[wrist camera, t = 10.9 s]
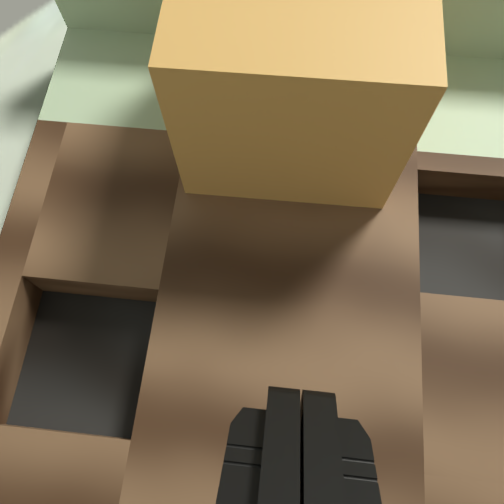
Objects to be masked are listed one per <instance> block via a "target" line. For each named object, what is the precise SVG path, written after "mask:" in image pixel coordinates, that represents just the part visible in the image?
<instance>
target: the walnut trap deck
mask: <svg viewBox="0 0 504 504" xmlns="http://www.w3.org/2000/svg"><path fill="white" fill-rule="evenodd" d="M269 386H274V387H283V388H292V389H300V402H301V395H302V390H312V391H321V392H330V393H335V395H336V403H337V414H338V418H347V419H356V420H358V421H359V422H360V424H361V425H362V427H363V428H364V430H365V431H366V433H367V434H368V436H369V437H370V439H371V443H372V449H373V455H374V465H375V467H376V472H377V478H378V479H377V483H378V484H379V490H380V495H381V501H382V504H504V158H494V157H482V156H470V155H458V154H446V153H434V152H422V151H417V145H416V147H415V149H414V151H413V153H412V155H411V157H410V158H409V160H408V162H407V164H406V166H405V168H404V170H403V171H402V173H401V175H400V177H399V179H398V181H397V183H396V185H395V186H394V188H393V190H392V192H391V194H390V196H389V198H388V199H387V201H386V203H385V205H384V207H383V209H379V208H367V207H354V206H341V205H329V204H316V203H304V202H291V201H279V200H266V199H254V198H241V197H229V196H216V195H204V194H191V193H185V191H184V187H183V184H182V181H181V177H180V174H179V170H178V167H177V164H176V160H175V157H174V154H173V150H172V147H171V143H170V140H169V137H168V133H167V130H155V129H144V128H131V127H119V126H107V125H95V124H83V123H71V122H59V121H47V120H37V123H36V126H35V130H34V133H33V136H32V139H31V142H30V145H29V148H28V151H27V154H26V157H25V160H24V163H23V166H22V170H21V173H20V176H19V179H18V182H17V185H16V188H15V191H14V194H13V197H12V200H11V203H10V206H9V210H8V213H7V216H6V219H5V222H4V225H3V228H2V231H1V234H0V504H216V498H217V493H218V487H219V482H220V477H221V471H222V466H223V461H224V455H225V450H226V445H227V439H228V433H229V428H230V423H231V422H232V420H233V419H234V418H235V417H236V415H237V414H238V413H239V411H240V410H241V409H242V408H243V407H247V408H256V409H265V410H266V408H267V397H268V387H269Z"/></svg>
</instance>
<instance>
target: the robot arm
mask: <svg viewBox="0 0 504 504" xmlns="http://www.w3.org/2000/svg"><path fill="white" fill-rule="evenodd" d="M377 479H378V478H377V472H376V467H375V465H374V455H373V449H372V443H371V439H370V437H369V436H368V434H367V433H366V431H365V430H364V428H363V427H362V425H361V424H360V422H359V421H358V420H356V419H347V418H338V414H337V403H336V395H335V393H330V392H321V391H312V390H302V395H301V402H300V389H292V388H283V387H274V386H269V387H268V397H267V408H266V410H265V409H256V408H247V407H243V408H242V409H241V410H240V411H239V413H238V414H237V415H236V417H235V418H234V419H233V420H232V422H231V423H230V428H229V433H228V439H227V445H226V450H225V455H224V461H223V466H222V471H221V477H220V482H219V487H218V493H217V498H216V504H382V501H381V495H380V490H379V484H378V483H377Z"/></svg>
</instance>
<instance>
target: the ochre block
mask: <svg viewBox="0 0 504 504" xmlns="http://www.w3.org/2000/svg"><path fill="white" fill-rule="evenodd" d="M148 69H149V73H150V76H151V79H152V83H153V86H154V89H155V93H156V96H157V100H158V103H159V106H160V110H161V113H162V116H163V120H164V123H165V127H166V130H167V133H168V137H169V140H170V143H171V147H172V150H173V154H174V157H175V160H176V164H177V167H178V170H179V174H180V177H181V181H182V184H183V187H184V191H185V193H191V194H204V195H216V196H229V197H241V198H254V199H266V200H279V201H291V202H304V203H316V204H329V205H341V206H354V207H367V208H379V209H383V207H384V205H385V203H386V201H387V199H388V198H389V196H390V194H391V192H392V190H393V188H394V186H395V185H396V183H397V181H398V179H399V177H400V175H401V173H402V171H403V170H404V168H405V166H406V164H407V162H408V160H409V158H410V157H411V155H412V153H413V151H414V149H415V147H416V145H417V143H418V142H419V140H420V138H421V136H422V134H423V132H424V130H425V129H426V127H427V125H428V123H429V121H430V119H431V117H432V116H433V114H434V112H435V110H436V108H437V106H438V104H439V102H440V101H441V99H442V97H443V95H444V93H445V91H446V89H447V88H448V83H447V67H446V52H445V37H444V22H443V6H442V0H163V1H162V5H161V10H160V14H159V19H158V23H157V28H156V32H155V37H154V41H153V46H152V50H151V55H150V59H149V64H148Z"/></svg>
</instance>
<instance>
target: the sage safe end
mask: <svg viewBox="0 0 504 504" xmlns="http://www.w3.org/2000/svg"><path fill="white" fill-rule="evenodd" d="M162 1H163V0H55V2H56V4H57V6H58V8H59V10H60V12H61V14H62V17H63V19H64V21H65V23H66V25H67V27H68V28H67V31H66V34H65V38H64V41H63V44H62V47H61V50H60V53H59V56H58V59H57V62H56V65H55V68H54V71H53V74H52V78H51V81H50V84H49V87H48V90H47V93H46V96H45V99H44V102H43V105H42V108H41V111H40V114H39V118H38V120H47V121H59V122H71V123H83V124H95V125H107V126H119V127H131V128H144V129H155V130H166V127H165V123H164V120H163V116H162V113H161V110H160V106H159V103H158V100H157V96H156V93H155V89H154V86H153V83H152V79H151V76H150V73H149V69H148V64H149V59H150V55H151V50H152V46H153V41H154V37H155V32H156V28H157V23H158V19H159V14H160V10H161V5H162ZM442 6H443V22H444V37H445V52H446V67H447V83H448V88H447V89H446V91H445V93H444V95H443V97H442V99H441V101H440V102H439V104H438V106H437V108H436V110H435V112H434V114H433V116H432V117H431V119H430V121H429V123H428V125H427V127H426V129H425V130H424V132H423V134H422V136H421V138H420V140H419V142H418V143H417V151H422V152H434V153H446V154H458V155H470V156H482V157H494V158H504V0H442Z"/></svg>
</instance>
